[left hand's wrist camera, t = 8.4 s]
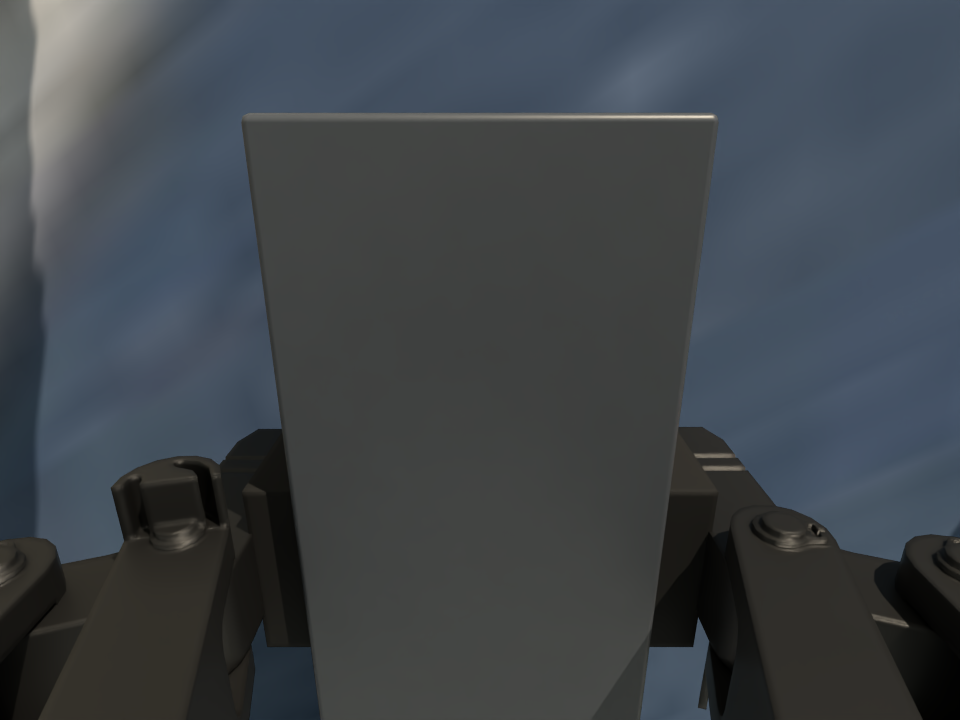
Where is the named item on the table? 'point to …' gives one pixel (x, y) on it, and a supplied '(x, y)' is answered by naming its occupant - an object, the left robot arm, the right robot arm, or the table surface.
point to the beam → (480, 396)
